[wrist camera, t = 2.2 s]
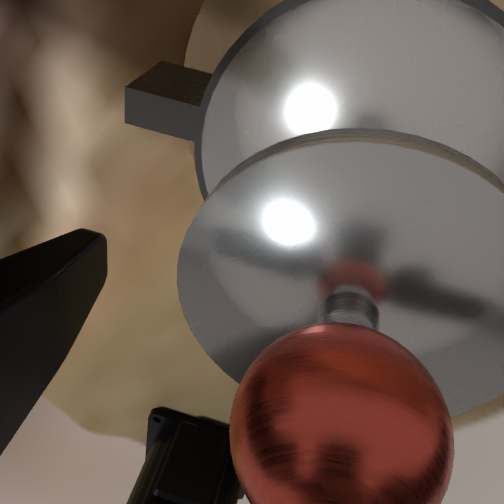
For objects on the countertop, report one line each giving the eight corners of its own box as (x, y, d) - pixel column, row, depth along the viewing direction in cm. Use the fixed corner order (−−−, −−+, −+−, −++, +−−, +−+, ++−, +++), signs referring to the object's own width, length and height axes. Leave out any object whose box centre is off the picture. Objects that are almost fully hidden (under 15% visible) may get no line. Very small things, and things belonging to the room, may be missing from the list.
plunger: (447, 434, 10) (475, 696, 7) (176, 351, 10) (77, 559, 7) (640, 193, 6) (914, 511, 3) (208, 80, 7) (35, 250, 3)
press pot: (469, 307, 18) (486, 389, 15) (161, 219, 19) (118, 279, 16) (710, -61, 11) (837, -46, 8) (188, -176, 12) (118, -202, 9)
